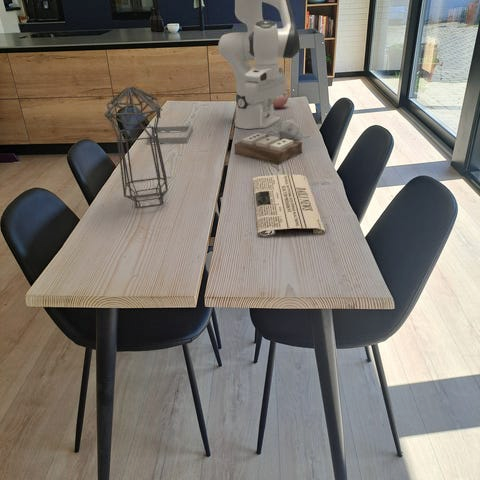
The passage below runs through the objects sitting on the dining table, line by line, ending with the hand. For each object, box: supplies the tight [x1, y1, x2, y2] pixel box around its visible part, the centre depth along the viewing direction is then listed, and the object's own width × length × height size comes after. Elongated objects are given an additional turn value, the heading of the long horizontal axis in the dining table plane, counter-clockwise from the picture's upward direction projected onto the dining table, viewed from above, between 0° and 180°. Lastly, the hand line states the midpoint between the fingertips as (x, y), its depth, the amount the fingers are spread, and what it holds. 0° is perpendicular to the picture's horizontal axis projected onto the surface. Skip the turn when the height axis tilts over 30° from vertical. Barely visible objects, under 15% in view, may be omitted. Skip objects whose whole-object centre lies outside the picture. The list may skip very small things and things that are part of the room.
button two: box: [270, 139, 294, 151], centre depth 170 cm, size 9×4×3 cm, turn 140°
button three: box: [242, 132, 267, 145], centre depth 178 cm, size 9×4×3 cm, turn 140°
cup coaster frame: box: [146, 125, 194, 144], centre depth 198 cm, size 17×17×2 cm
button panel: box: [233, 134, 303, 166], centre depth 175 cm, size 15×21×4 cm
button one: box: [256, 135, 280, 148], centre depth 174 cm, size 9×4×3 cm, turn 140°
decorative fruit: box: [272, 92, 289, 109], centre depth 230 cm, size 9×8×10 cm
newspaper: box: [252, 174, 325, 238], centre depth 136 cm, size 37×19×3 cm, turn 1°
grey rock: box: [276, 118, 301, 141], centre depth 187 cm, size 8×9×10 cm
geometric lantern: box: [103, 85, 169, 209], centre depth 135 cm, size 16×16×35 cm
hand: (267, 111), depth 168 cm, fingers closed
